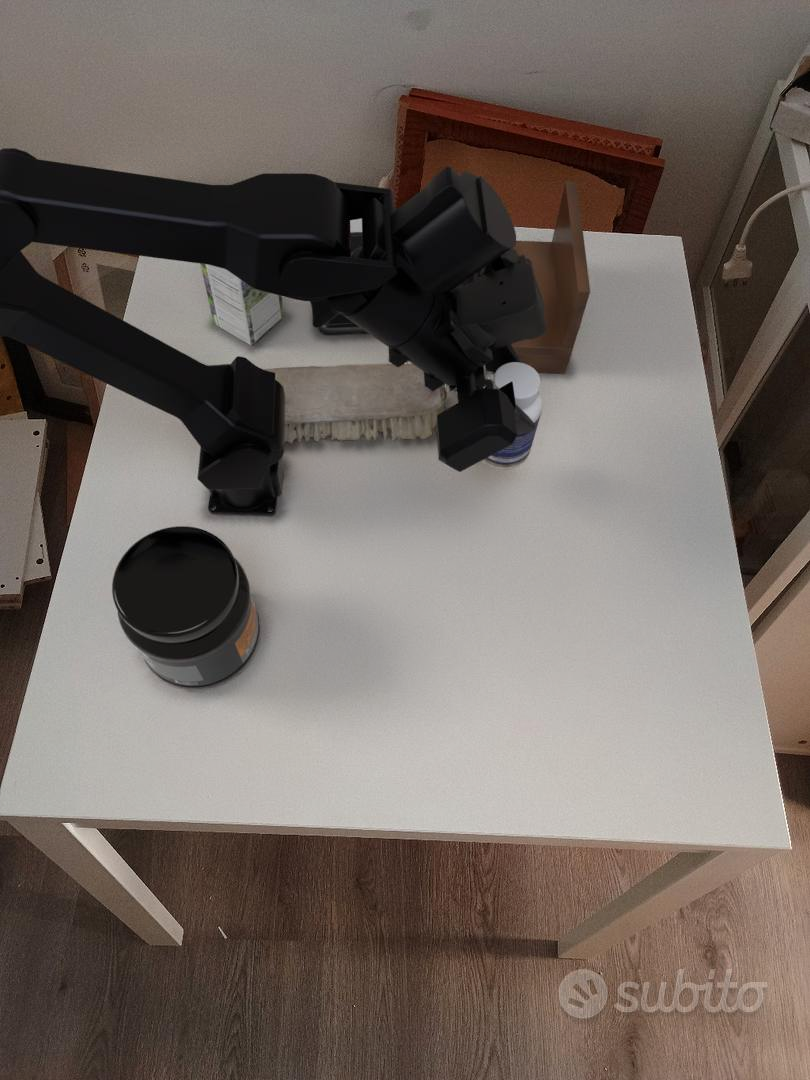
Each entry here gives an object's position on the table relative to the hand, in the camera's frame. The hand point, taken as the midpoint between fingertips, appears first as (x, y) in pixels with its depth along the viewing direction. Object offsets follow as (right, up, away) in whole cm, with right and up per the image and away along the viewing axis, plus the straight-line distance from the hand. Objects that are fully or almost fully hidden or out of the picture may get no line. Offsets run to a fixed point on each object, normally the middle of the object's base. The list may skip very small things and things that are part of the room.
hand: (527, 403), depth 72 cm
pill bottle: (-2, -3, +6) cm, 7 cm away
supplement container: (-29, -21, +2) cm, 35 cm away
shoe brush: (-18, +1, +14) cm, 23 cm away
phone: (-17, +17, +23) cm, 34 cm away
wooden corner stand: (0, +13, +22) cm, 26 cm away
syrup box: (-28, +12, +21) cm, 37 cm away
